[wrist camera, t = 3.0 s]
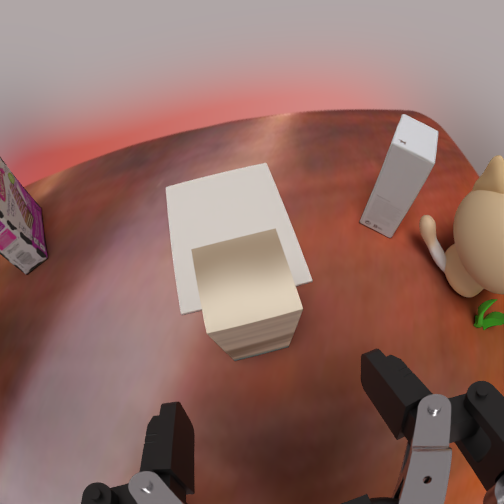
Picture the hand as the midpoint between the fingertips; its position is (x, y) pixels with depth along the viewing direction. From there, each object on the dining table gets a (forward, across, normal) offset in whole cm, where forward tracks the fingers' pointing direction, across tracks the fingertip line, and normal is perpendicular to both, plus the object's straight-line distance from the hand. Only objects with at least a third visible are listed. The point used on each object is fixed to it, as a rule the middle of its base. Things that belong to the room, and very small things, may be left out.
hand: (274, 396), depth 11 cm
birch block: (+14, 0, +5) cm, 15 cm away
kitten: (+13, -24, +7) cm, 28 cm away
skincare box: (+20, -18, -1) cm, 27 cm away
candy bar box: (+27, +29, -8) cm, 40 cm away
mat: (+22, 0, -3) cm, 22 cm away
